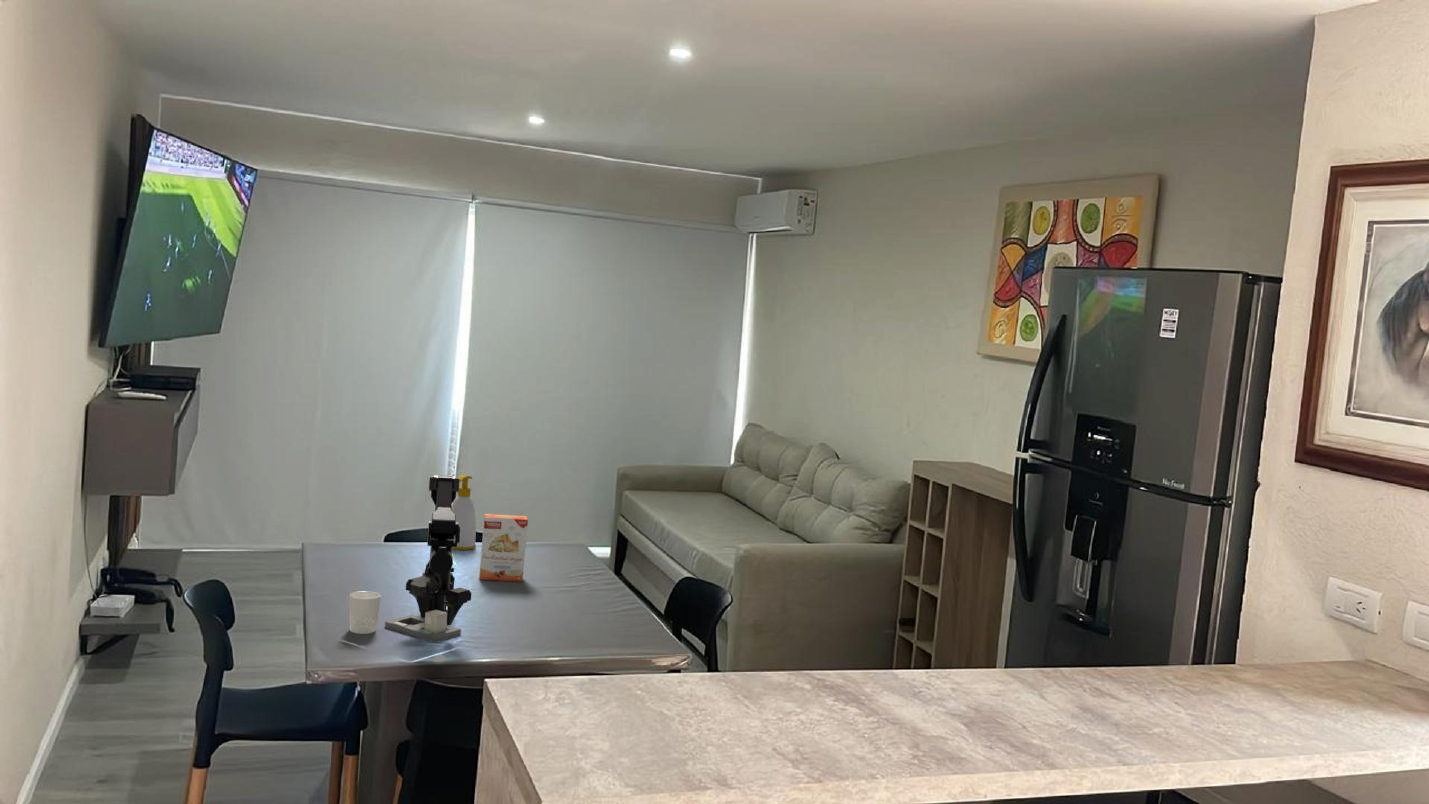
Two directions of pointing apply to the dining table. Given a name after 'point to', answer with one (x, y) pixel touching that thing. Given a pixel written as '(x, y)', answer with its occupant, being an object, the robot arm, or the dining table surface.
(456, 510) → the soap bottle
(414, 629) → the gray socket board
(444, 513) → the robot arm
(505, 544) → the cracker box
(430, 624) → the plug
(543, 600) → the dining table surface
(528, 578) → the dining table surface
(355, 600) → the white cup
